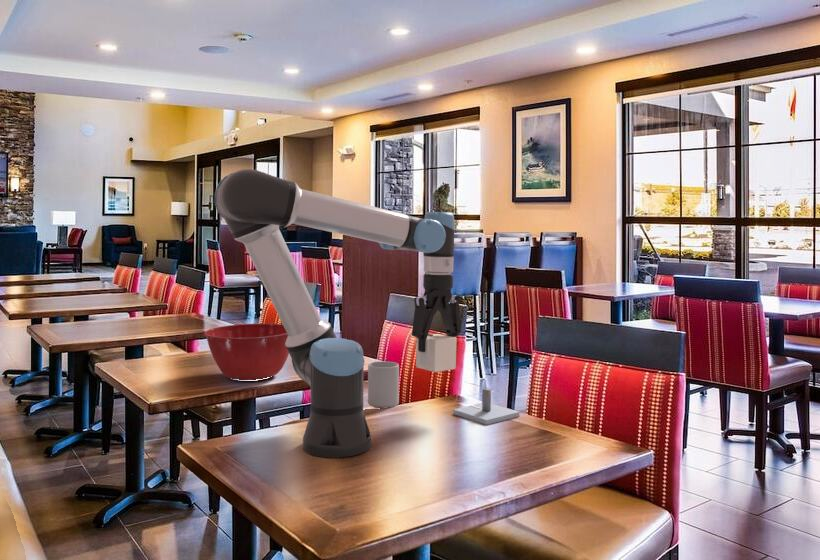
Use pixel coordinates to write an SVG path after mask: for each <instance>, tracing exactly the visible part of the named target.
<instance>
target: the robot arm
mask: <svg viewBox="0 0 820 560" xmlns="http://www.w3.org/2000/svg"><path fill="white" fill-rule="evenodd" d="M214 206H215V208H216V211H217V213H218V214H219V216H221V218H223V220H224V221H225V223H226V225H227V228H228V229H229V231H230V233H231V236H232V238H233V239H234V240H235V241H237V242H240V243H243V245H244V247H245V250H246V251H247V253H248V255H249V257H250V259H251V262H252V263H253V265H254V268H255V270H256V272H257V274H258V277H259V278H260V280H261V282H262V285H263V286H264V288H265V290H266V293H267V295H268V296H269V299H270V301H271V303H272V306H273V307H274V309H275V311H276V313H277V316H278V318H279V320H280V322H281V324H282V325H283V326H284V328H285V330H286V332H287V334H288V337H287V340H286V343H285V345H286V347H287V350H288V352H289V356H290V358H291V363H292V367H293V370H294V372H295V373H296V375H297V376H298V378H300V379H301V380H303V382H305V383H307V385H309V386H310V414H309V417H308V420H307V425H306V428H305V430H304V434H303V436H302V449H303V450H304V452H306V453H307V454H310V455H311V456H315V457H321V458H335V459H336V458H337V459H338V458H347V457H348V458H349V457H354V456H358V455H362V454H364V453H365V452H367V451H369V450H370V449H371V447H372V435H371V431H370V428H369V425H368V422H367V419H366V416H365V412H364V378H365V377H364V373H365V372H364V366H365V357H364V350H363V347H362V346H361V344H359V342H357V341H355V340H352V339H347V338H341V337H337V336H336V334H335V331H334V329H333V327H332V325H331V323H330V322H328V321H326V320H323V319H322V318H321V316H320V315H319V312H318V310H317V308H316V306H315V303H314V301H313V299H312V296H311V295H310V293H309V290H308V288H307V286H306V284H305V282H304V280H303V277H302V275H301V273H300V270H299V269H298V267H297V265H296V263H295V260H294V258H293V256H292V254H291V252H290V249H289V247H288V245H287V243H286V241H285V239H284V237H283V235H282V232H281V230H280V227H284V228H285V227H286V228H287V227H289V226H290V225H292V224H294V225H297V226H302V227H307V228H312V229H316V230H319V231H320V230H321V231H325V232H329V233H334V234H339V235H342V236H348V237H353V238H357V239H362V240H366V241H369V242H370V241H371V242H375V243H378V244H379V246H380V247H381V248H382V249H383V250H391V251H395V250H396V251H397V250H398V251H399V250H400V251H401V250H402V251H411V252H419V253H420V252H421V253H423V272H425V273H424V274H423V279H422V280H423V281H422V282H423V283H422V285H423V289H424V293H423V295H422V296H419V297H417V296H416V297H414V298H413V301H414V314H413V320H412V321H413V322H412V328H411V329H412V331H411V336H412V337H413V338H416V339H417V338H418V351H419V352H420V364H423V365H426V366H427V365H429V339H427V336H428V334H430V330H431V329H430V328H431V326H432V323H433V320H434V316H435V315H436V314H437V312H438V311H439V313H440V317H441V320H442V324H443V327H444V331H445V335H446V336H450V337H455V338H457V336H458V335H459V334H461V331H462V327H461V315H460V313H461V312H460V302H461V296H460V295H457V294H452V289H453V287H454V276H453V274H451V273H453V272H454V261H455V260H454V258H455V257H454V255H455V254H454V253H455V252H454V251H455V250H454V249H455V232H456V229H455V228H456V224H455V216H454V214H453V213H452V212H447V211H446V212H445V211H444V212H443V211H439V212H438V211H435V212H434V211H427V212H426V213H424V214H425V215H424V217H423V218H421V217H417V216H412V215H409V214H408V215H407V214H405V213H402V212H397V211H392V210H388V209H385V208H380V207H378V206H373V205H368V204H366V203H365V204H364V203H360V202H357V201H352V200H349V199H344V198H341V197H335V196H332V195H328V194H324V193H319V192H315V191H311V190H306V189H303V188H300V187H299V185H298V184H297V182H295V181H290V180H287V179H283V178H281V177H278V176H275V175H272V174H269V173H266V172H264V171H260V170H257V169H251V168H250V169H249V168H246V169H241V170H240V169H239V170H237V171H234V172H232V173H229V174H227V175H226V176H224V177H223V178H222V179H221V180H220V181H219V183H218V184H217V186H216V188H215V192H214Z"/></svg>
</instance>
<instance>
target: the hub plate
mask: <svg viewBox="0 0 820 560" xmlns="http://www.w3.org/2000/svg"><path fill="white" fill-rule="evenodd" d="M481 392H482V394H481V395H482V399H481V402H480V403H477V404H472V405H468V406H467V405H466V406H464V407H458V408H454V409H453V415H455V416H458V417H462V418H465V419H467V420H470V421H473V422H477V423H480V424H483V425H486V426H488V425H493V424H495V423H498V422H499V423H500V422H503V421H508V420H510V419H514V418H519V417H520V411H518V410H514V409H511V408H508V407H504V406H501V405H497V404H494V403H492V389H491V388H482V391H481Z"/></svg>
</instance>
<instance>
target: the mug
mask: <svg viewBox="0 0 820 560" xmlns="http://www.w3.org/2000/svg"><path fill="white" fill-rule="evenodd" d="M399 366H400V365H399V363H397V362H395V361H386V360H385V361H381V360H379V361H372V362H370V363H368V366H367V387H368V388H367V404H368V406H370V407H374V408H381V409H383V408H384V409H385V408H386V409H387V408H394V407H396V406H398V405H399V402H400V392H399V391H400V381H399V379H400V367H399Z"/></svg>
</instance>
